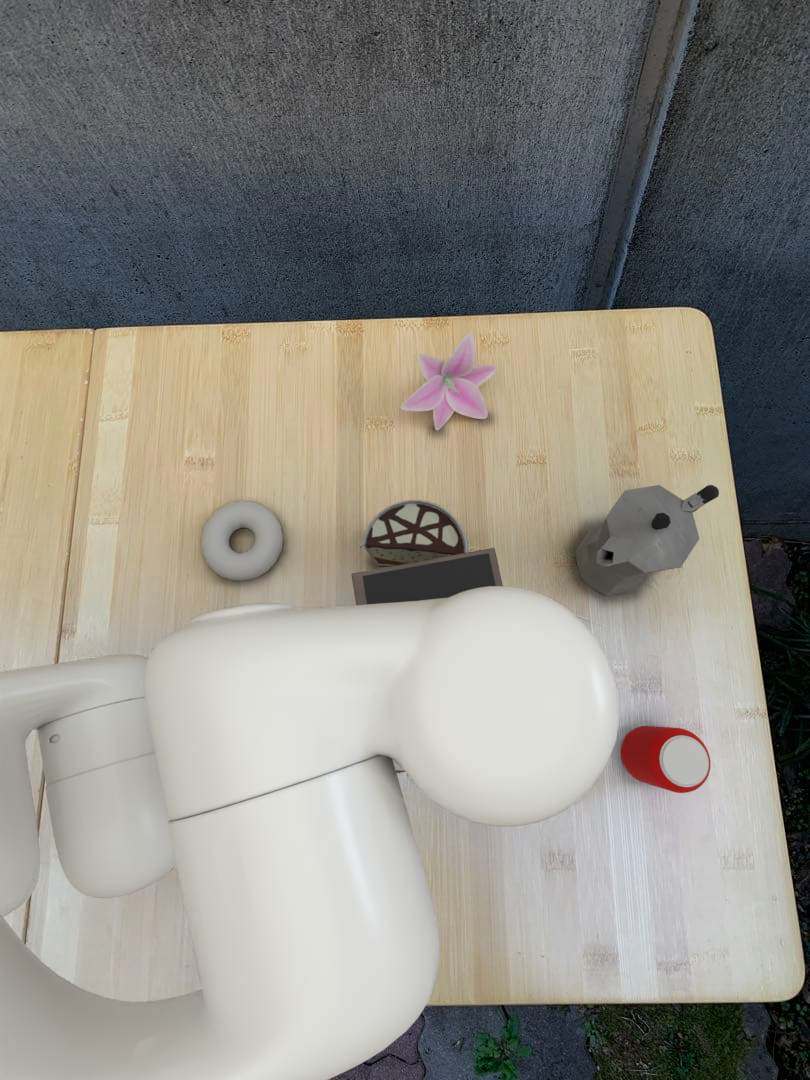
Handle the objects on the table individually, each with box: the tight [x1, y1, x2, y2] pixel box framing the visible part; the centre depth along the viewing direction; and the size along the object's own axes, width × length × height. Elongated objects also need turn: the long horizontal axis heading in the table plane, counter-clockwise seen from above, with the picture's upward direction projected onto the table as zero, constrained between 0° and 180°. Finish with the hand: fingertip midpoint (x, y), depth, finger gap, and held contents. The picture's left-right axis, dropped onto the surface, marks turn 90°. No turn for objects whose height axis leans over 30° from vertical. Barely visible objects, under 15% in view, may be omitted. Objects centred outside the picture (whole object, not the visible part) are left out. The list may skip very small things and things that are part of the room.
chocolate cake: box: [359, 499, 471, 567], centre depth 79 cm, size 12×6×10 cm, turn 84°
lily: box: [399, 332, 499, 431], centre depth 85 cm, size 12×12×10 cm
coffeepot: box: [574, 484, 720, 598], centre depth 75 cm, size 15×9×18 cm, turn 121°
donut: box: [200, 500, 284, 581], centre depth 83 cm, size 10×4×10 cm
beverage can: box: [620, 725, 711, 794], centre depth 72 cm, size 6×6×12 cm
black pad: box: [363, 553, 496, 605], centre depth 53 cm, size 10×8×3 cm
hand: (450, 708), depth 49 cm, fingers open, 9 cm apart
